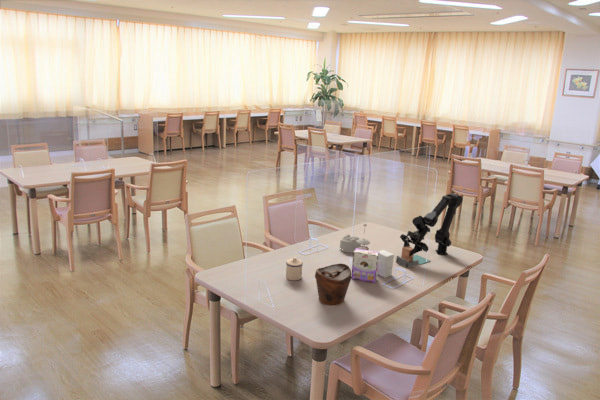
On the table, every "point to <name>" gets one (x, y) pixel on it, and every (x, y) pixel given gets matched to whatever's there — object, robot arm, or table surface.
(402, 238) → the robot arm
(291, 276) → the teacup with lid
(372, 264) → the candy box
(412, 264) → the charcoal u-shaped frame
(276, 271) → the table surface
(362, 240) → the french press
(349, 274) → the brown tapered cylinder
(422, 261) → the teal mat
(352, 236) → the lumpy-topped squat cylinder
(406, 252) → the terracotta block
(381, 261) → the small box
